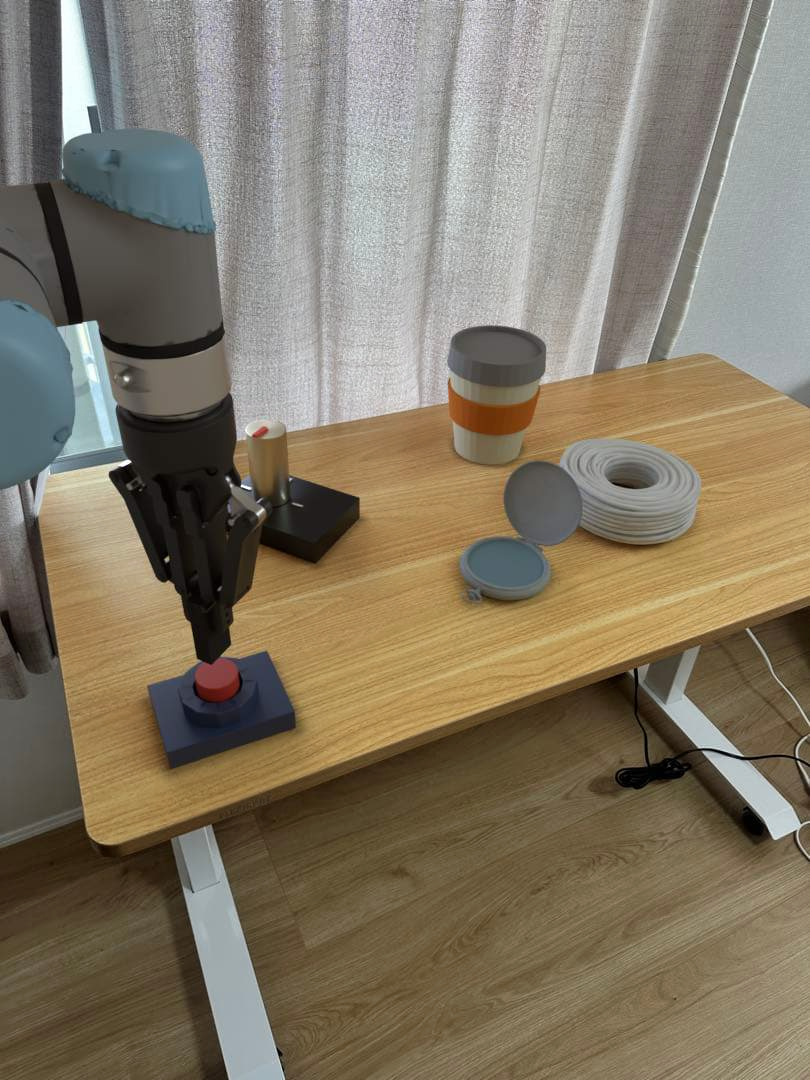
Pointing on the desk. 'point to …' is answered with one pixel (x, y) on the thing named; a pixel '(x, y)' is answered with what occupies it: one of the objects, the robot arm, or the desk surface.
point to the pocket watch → (524, 534)
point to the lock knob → (268, 461)
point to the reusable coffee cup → (493, 390)
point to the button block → (220, 711)
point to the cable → (632, 490)
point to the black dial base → (306, 519)
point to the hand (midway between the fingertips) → (214, 651)
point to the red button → (217, 680)
